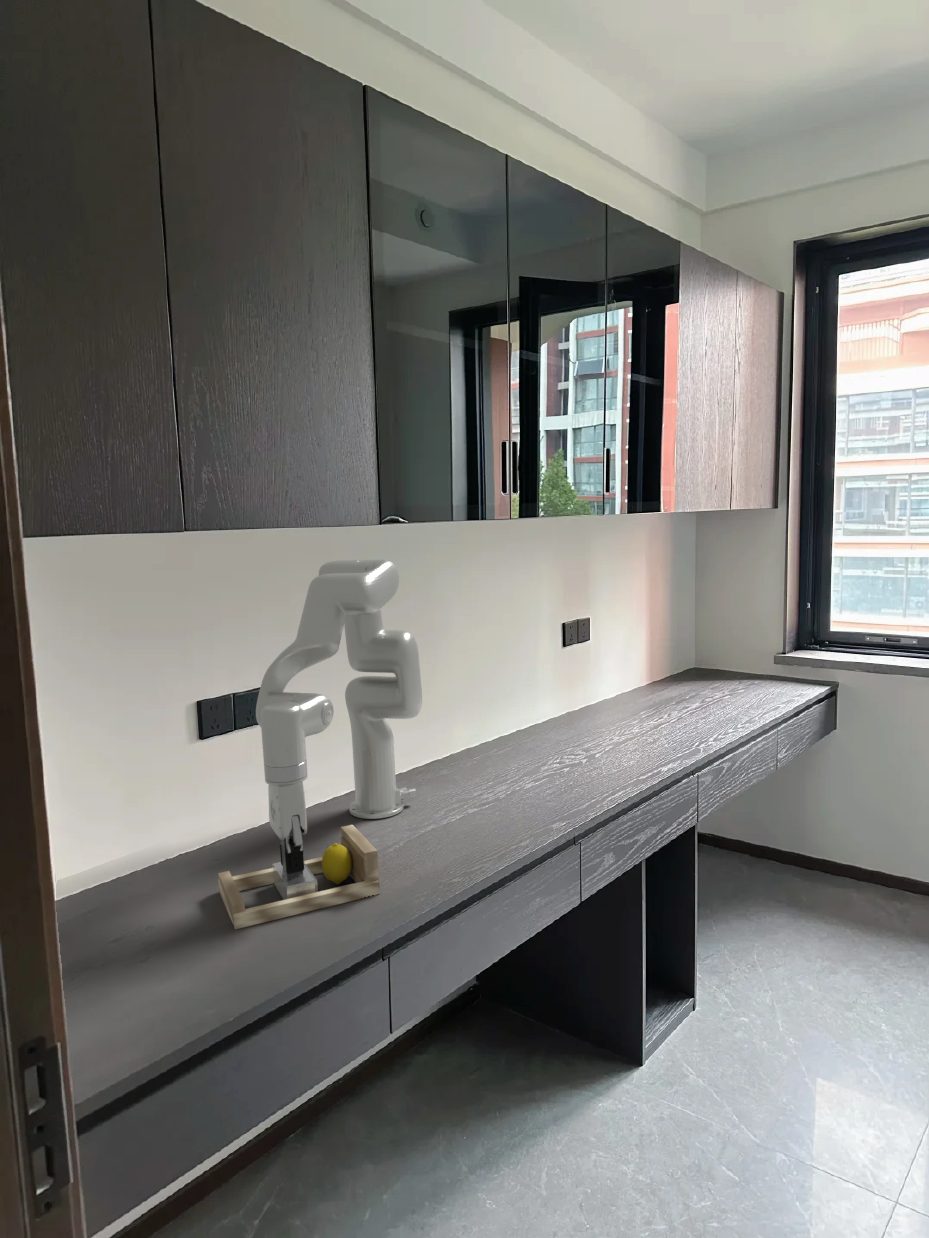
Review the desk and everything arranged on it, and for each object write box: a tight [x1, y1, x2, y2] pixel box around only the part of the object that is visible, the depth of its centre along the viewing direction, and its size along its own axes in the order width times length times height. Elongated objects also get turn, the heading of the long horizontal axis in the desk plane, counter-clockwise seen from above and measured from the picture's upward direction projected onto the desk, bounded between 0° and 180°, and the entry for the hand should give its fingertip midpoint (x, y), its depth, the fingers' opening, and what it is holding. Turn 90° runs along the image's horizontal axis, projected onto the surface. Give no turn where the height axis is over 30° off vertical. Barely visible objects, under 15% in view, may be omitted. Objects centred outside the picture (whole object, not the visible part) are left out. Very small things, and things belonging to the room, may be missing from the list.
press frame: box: [217, 824, 381, 930], centre depth 155 cm, size 26×16×8 cm, turn 115°
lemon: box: [322, 842, 352, 885], centre depth 158 cm, size 6×6×8 cm
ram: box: [272, 832, 319, 900], centre depth 155 cm, size 6×11×12 cm, turn 25°
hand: (292, 866), depth 155 cm, fingers closed on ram, 3 cm apart
